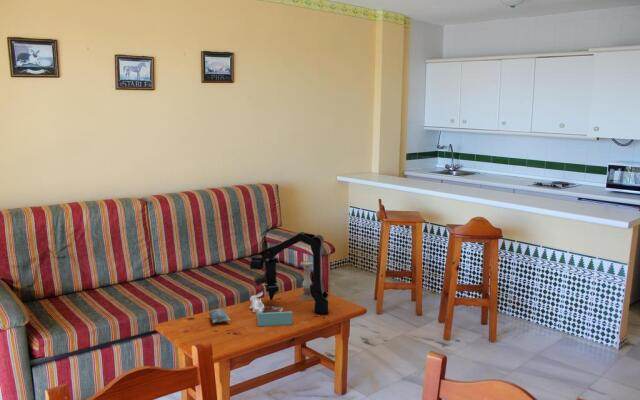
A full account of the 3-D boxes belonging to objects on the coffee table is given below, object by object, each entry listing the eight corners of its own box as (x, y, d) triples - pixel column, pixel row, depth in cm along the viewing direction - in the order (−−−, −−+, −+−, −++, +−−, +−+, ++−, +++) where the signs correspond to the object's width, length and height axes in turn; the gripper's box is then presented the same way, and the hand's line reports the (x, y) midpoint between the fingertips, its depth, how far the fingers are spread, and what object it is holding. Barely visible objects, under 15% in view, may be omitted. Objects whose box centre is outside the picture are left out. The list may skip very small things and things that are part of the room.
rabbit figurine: (247, 308, 287) (246, 290, 285) (260, 306, 291) (260, 288, 289) (256, 315, 277) (256, 297, 275) (270, 313, 280) (270, 295, 279)
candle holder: (309, 302, 297) (309, 265, 294) (296, 299, 302) (296, 263, 299) (318, 297, 305) (318, 262, 302) (305, 295, 309) (305, 259, 306)
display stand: (289, 316, 275) (289, 305, 274) (292, 324, 265) (292, 312, 264) (256, 318, 272) (256, 306, 272) (258, 326, 262) (258, 314, 262)
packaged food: (226, 315, 275) (226, 306, 275) (230, 324, 264) (230, 314, 263) (208, 317, 273) (208, 307, 272) (212, 326, 261) (211, 316, 261)
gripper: (254, 266, 293) (254, 294, 295) (256, 276, 274) (256, 306, 277) (275, 265, 295) (275, 293, 297) (278, 275, 276) (278, 305, 279)
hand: (271, 299), depth 287 cm, fingers closed
